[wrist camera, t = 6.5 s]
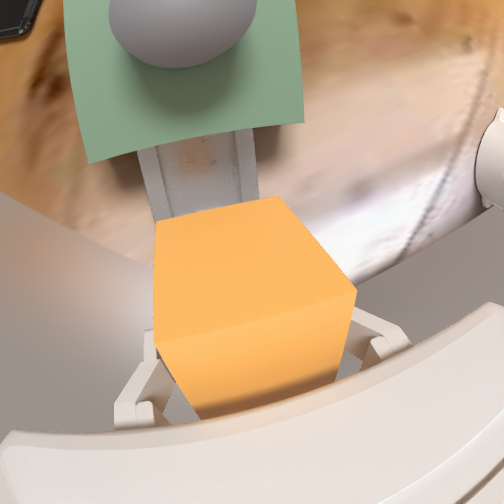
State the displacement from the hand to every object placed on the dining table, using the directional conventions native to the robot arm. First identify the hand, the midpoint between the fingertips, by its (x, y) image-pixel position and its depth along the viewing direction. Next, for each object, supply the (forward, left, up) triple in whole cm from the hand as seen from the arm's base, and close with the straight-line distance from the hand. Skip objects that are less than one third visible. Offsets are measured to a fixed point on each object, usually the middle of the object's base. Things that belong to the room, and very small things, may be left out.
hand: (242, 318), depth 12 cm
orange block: (0, 0, -2) cm, 2 cm away
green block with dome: (0, -12, -17) cm, 21 cm away
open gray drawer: (0, 0, -17) cm, 17 cm away
